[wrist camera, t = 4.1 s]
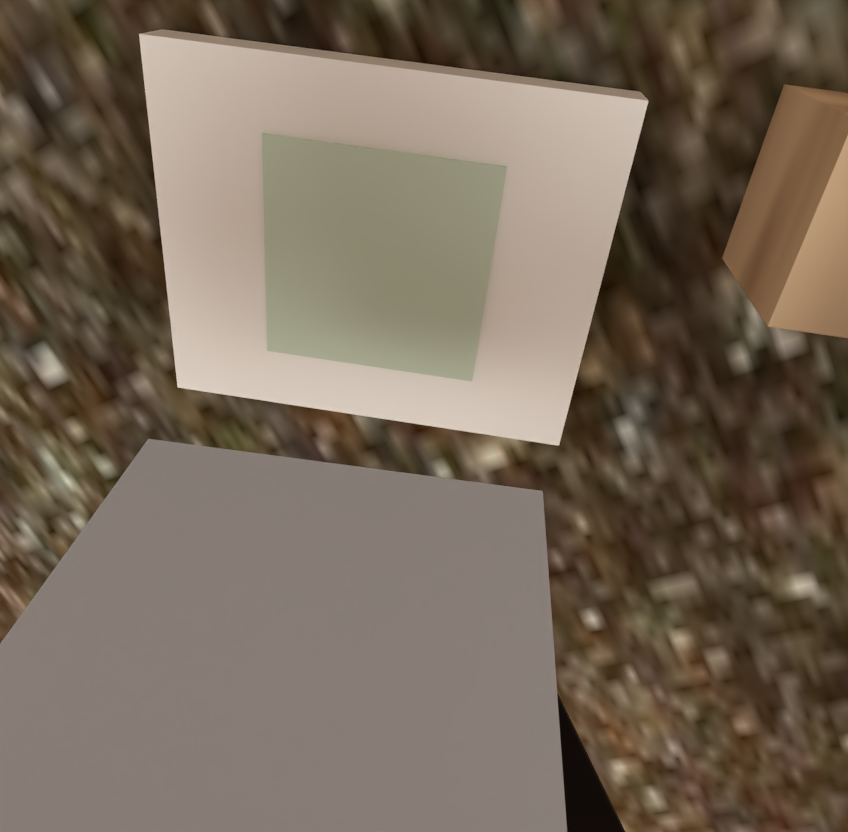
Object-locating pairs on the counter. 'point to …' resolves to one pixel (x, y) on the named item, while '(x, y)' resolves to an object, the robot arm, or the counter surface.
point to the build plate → (383, 229)
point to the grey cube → (287, 657)
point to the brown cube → (797, 217)
